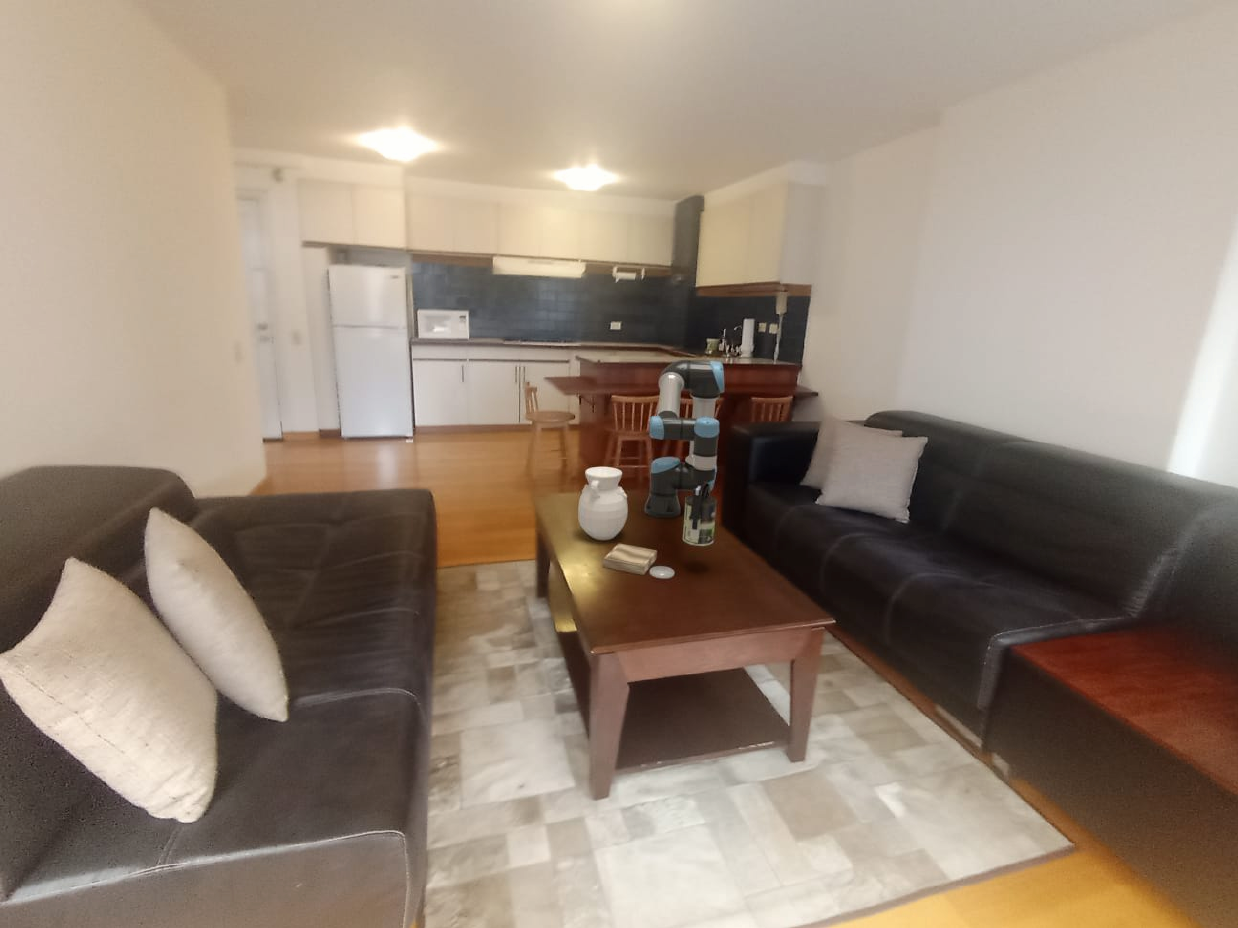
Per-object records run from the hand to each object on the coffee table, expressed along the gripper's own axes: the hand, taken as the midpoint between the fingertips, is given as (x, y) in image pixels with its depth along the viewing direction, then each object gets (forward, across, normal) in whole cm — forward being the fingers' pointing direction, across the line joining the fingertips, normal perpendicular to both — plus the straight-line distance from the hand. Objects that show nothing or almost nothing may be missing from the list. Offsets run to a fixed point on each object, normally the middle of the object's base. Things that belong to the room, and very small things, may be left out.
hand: (698, 531), depth 190 cm
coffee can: (+3, 0, 0) cm, 3 cm away
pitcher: (+13, -11, -39) cm, 42 cm away
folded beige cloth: (+13, +7, -21) cm, 25 cm away
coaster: (+12, +10, -9) cm, 18 cm away
